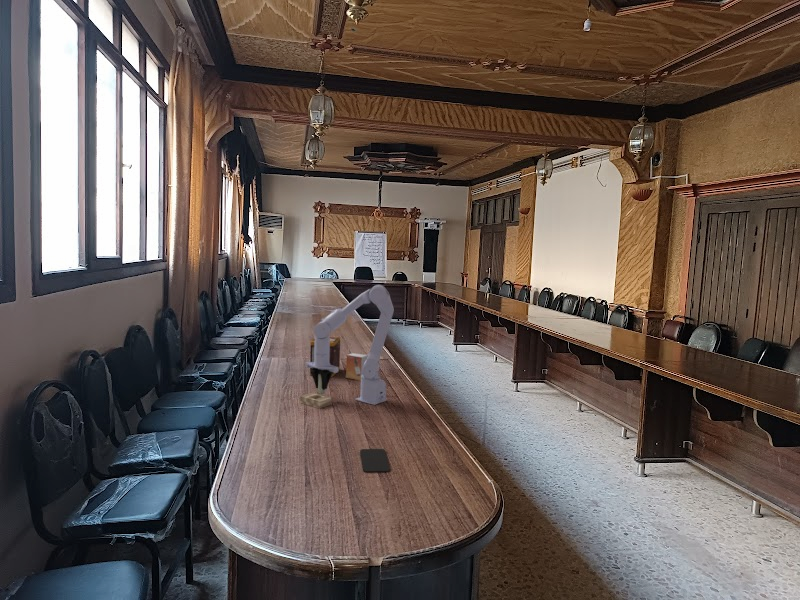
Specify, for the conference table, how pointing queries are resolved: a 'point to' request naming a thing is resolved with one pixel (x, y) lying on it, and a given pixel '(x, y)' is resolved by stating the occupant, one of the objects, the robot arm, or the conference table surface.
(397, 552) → the conference table surface
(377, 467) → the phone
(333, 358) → the supplement box
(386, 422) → the conference table surface
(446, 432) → the conference table surface
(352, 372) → the small box
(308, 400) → the hole plate
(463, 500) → the conference table surface
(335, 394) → the short pin
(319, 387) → the long pin
